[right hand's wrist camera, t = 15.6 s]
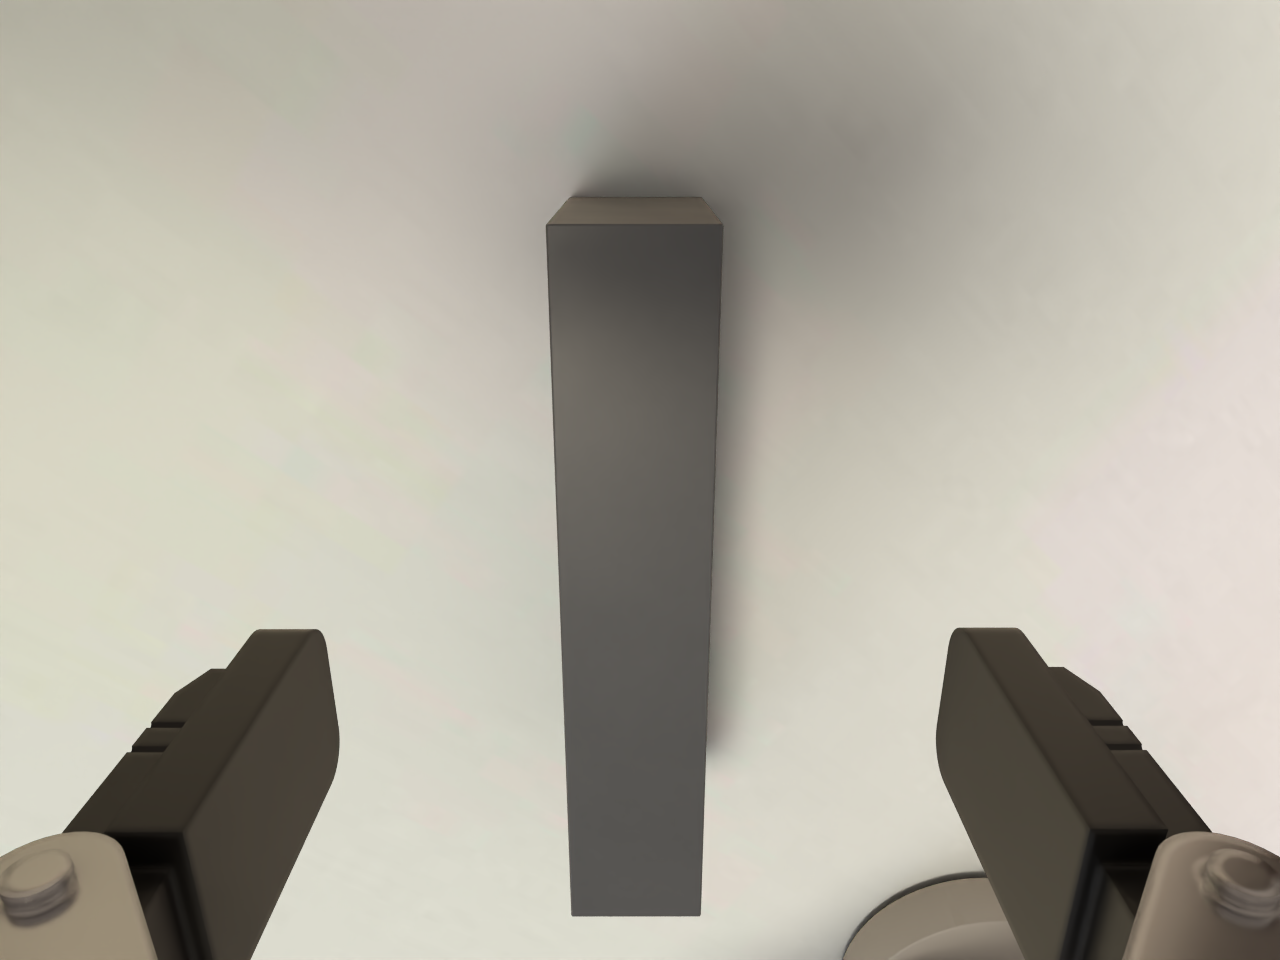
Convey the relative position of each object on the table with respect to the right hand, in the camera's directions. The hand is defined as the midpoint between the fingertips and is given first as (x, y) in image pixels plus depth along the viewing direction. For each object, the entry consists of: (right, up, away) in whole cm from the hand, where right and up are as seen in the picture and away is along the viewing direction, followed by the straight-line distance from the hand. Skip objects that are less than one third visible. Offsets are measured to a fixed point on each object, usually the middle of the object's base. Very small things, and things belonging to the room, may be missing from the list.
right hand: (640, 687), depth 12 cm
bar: (0, +1, +25) cm, 25 cm away
